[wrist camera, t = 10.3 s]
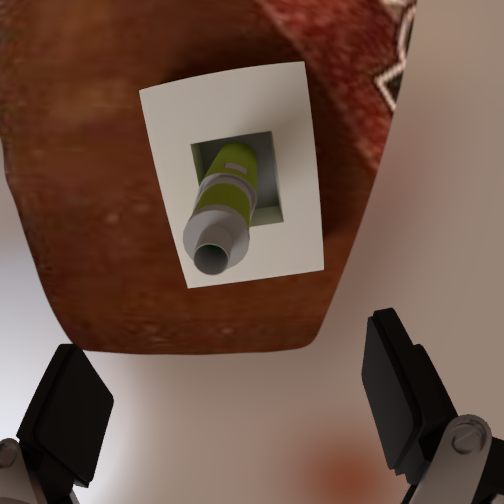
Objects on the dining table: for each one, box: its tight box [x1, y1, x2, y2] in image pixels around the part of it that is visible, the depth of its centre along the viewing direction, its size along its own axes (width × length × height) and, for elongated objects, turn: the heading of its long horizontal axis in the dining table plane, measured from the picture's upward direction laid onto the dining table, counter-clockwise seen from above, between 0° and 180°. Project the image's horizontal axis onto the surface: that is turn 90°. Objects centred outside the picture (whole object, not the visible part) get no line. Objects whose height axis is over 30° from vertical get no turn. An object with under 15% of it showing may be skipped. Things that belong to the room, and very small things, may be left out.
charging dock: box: [139, 61, 324, 288], centre depth 31 cm, size 20×14×5 cm
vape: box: [183, 142, 257, 276], centre depth 23 cm, size 4×6×20 cm, turn 161°
